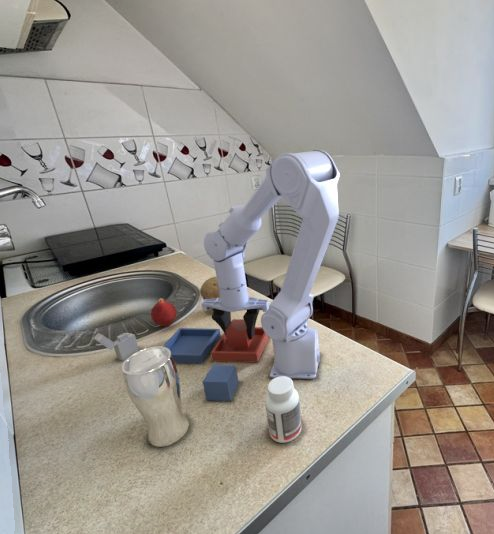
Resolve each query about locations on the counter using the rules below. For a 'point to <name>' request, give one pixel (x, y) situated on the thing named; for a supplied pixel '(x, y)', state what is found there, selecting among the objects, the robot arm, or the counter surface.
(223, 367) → the blue block
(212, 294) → the potato
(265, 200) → the robot arm
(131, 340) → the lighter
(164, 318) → the onion
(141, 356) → the beer glass
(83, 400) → the counter surface
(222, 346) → the red tray
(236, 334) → the red block
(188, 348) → the blue tray
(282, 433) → the pill bottle
